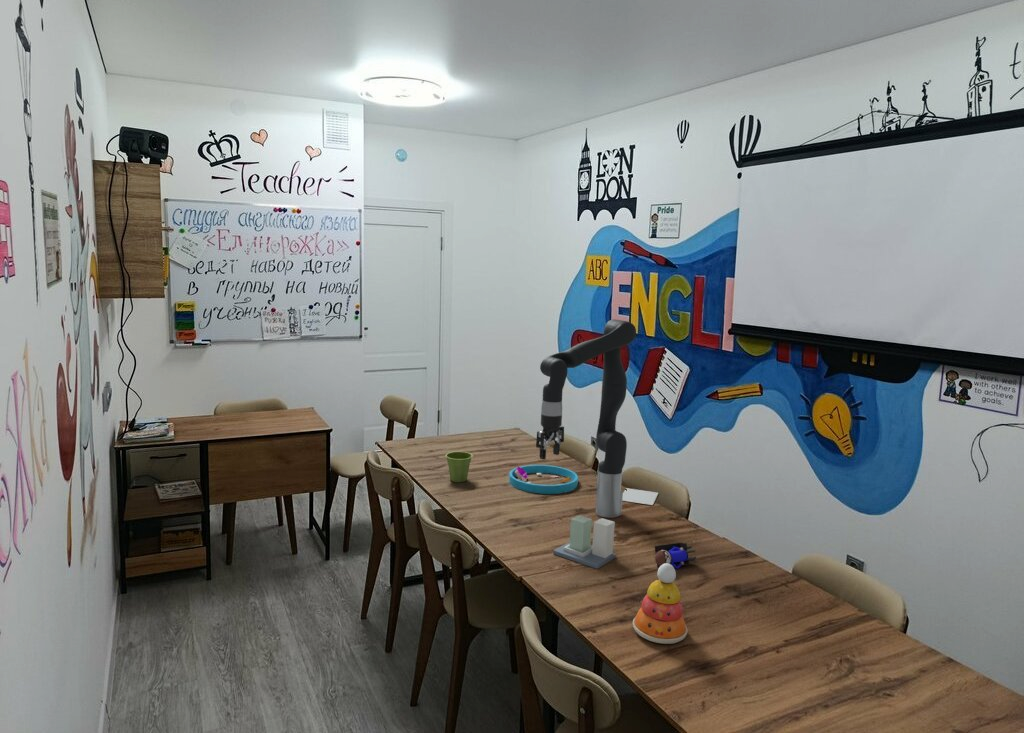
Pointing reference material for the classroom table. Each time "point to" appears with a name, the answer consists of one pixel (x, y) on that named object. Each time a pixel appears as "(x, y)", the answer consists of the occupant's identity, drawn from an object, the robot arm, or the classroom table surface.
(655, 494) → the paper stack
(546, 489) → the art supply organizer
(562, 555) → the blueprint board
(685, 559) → the character figurine
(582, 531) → the sage pillar
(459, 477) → the plant pot
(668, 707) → the classroom table surface
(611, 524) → the standing pillar
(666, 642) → the stacking toy
